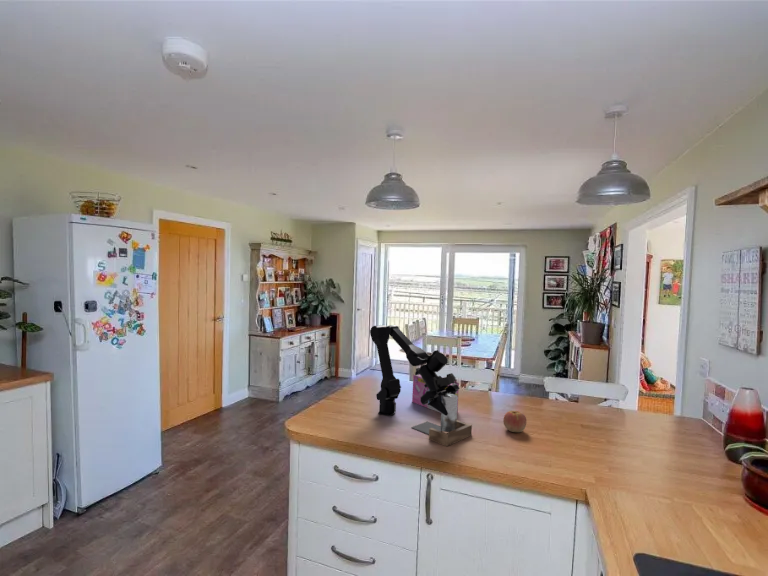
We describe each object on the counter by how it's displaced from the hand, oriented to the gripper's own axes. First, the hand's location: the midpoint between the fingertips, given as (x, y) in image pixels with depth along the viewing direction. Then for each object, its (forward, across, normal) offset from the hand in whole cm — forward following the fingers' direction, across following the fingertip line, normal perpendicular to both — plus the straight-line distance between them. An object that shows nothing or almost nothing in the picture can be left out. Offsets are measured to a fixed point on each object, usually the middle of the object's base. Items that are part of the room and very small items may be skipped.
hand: (452, 413), depth 153 cm
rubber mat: (-1, 0, +14) cm, 14 cm away
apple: (+16, +26, -2) cm, 30 cm away
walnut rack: (+7, 0, +7) cm, 9 cm away
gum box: (-12, +24, +26) cm, 37 cm away
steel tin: (+4, 0, +6) cm, 7 cm away
